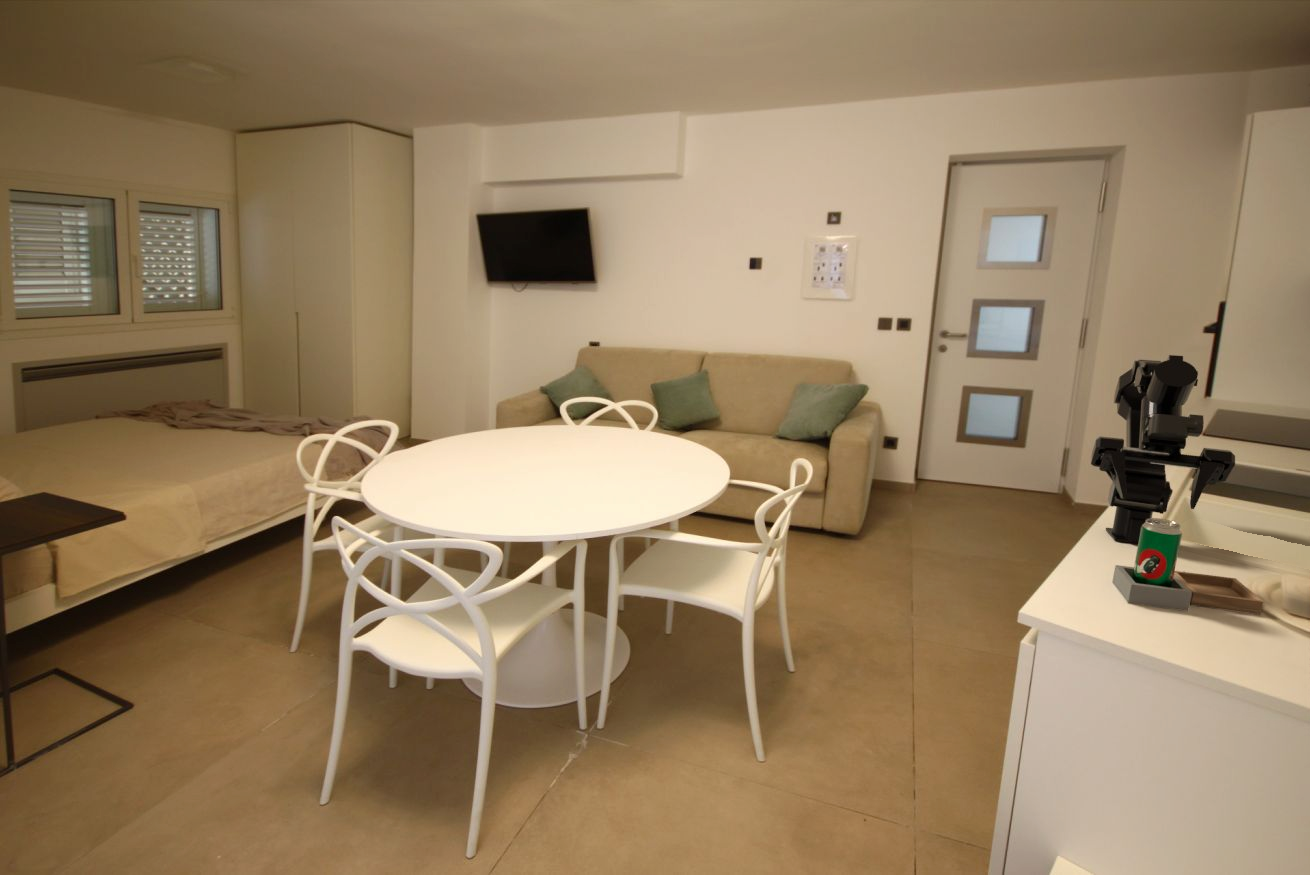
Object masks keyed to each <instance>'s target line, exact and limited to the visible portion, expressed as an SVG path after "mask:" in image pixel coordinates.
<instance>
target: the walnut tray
mask: <svg viewBox="0 0 1310 875" xmlns="http://www.w3.org/2000/svg"><path fill="white" fill-rule="evenodd" d="M1174 574H1175V576H1176V577H1177V578H1178V579H1179V580H1180V581H1181V582H1182V583H1183V584H1184V585H1185V586H1186V587H1187V588H1188V589H1189V590H1190V591H1191V592H1192V596H1191V601H1190V605H1191V606H1196V607H1201V608H1202V607H1203V608H1211V609H1217V610H1225V611H1230V612H1231V611H1232V612H1237V613H1240V612H1241V613H1247V614H1255V615H1261V614H1262V610H1263V606H1264V604H1265V602H1264V601H1263V600H1262V599H1261V598H1260V597H1258V596H1257V595H1256V594H1255V593H1254V592H1252V590H1251V589H1249V588H1248V587H1247V586H1245V584H1243V583H1242V581H1241V582H1240V581H1239V580H1238V579H1237V578H1235V577H1226V576H1219V575H1213V574H1211V575H1210V574H1204V573H1195V572H1188V571H1187V572H1185V571H1179V570H1175V572H1174ZM1190 605H1189V606H1190Z"/></svg>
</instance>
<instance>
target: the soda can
mask: <svg viewBox="0 0 1310 875" xmlns="http://www.w3.org/2000/svg"><path fill="white" fill-rule="evenodd" d="M1182 536H1183V531H1182V530H1181V525H1180V524H1179V523H1177V522H1175V521H1172V520H1168V519H1164V518H1157V517H1155V518H1154V517H1152V518H1148V519H1146V522H1145V523H1144V524H1143V525H1142V527H1141V532H1140V537H1139V543H1137V547H1136V548H1137V549H1136V554H1135V560H1134V565H1133V567H1134V569H1133V574H1132V579H1133V580H1134V582H1135V583H1139V584H1147V585H1154V586H1162V587H1170V588H1171V587H1172V582H1173V577H1174V572H1175V571H1176V566H1177V563H1178V562H1177V561H1178V556H1179V551H1180V546H1181V540H1182Z"/></svg>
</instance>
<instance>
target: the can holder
mask: <svg viewBox="0 0 1310 875" xmlns="http://www.w3.org/2000/svg"><path fill="white" fill-rule="evenodd" d="M1133 569H1134V566H1127V565H1118V564H1115V565H1114V572H1113V575H1112V576H1113V577H1112V581H1111V582H1112V584H1113V585H1114V587H1115V588H1116V590H1118V592H1119V593H1120V595H1121V597H1123V598H1124V599H1125V601H1126V602H1127V603H1128V604H1132V605H1133V604H1135V605H1142V606H1147V607H1156V608H1165V609H1170V610H1179V611H1184V612H1188V611H1189V610H1190V601H1191V596H1192V592H1191V591H1190V590H1189V589H1188V588H1187V587H1186V586H1185V585H1184V584H1183V583H1182V582H1181V581H1180V580H1179V579H1178V578H1177V577H1176V576H1175V574H1174V577H1173V582H1172V587H1171V588H1170V587H1162V586H1154V585H1147V584H1139V583H1135V582H1134V580H1133V579H1132V574H1133Z"/></svg>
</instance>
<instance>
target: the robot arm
mask: <svg viewBox="0 0 1310 875" xmlns="http://www.w3.org/2000/svg"><path fill="white" fill-rule="evenodd" d="M1198 376H1199V371H1198V370H1197V369H1196V367H1195V366H1193V364H1191V363H1190V362H1187V361H1185V360H1184V356H1183V355H1174V354H1173V355H1171V354H1169V355H1168V356H1167V359H1166V360H1164V361H1161V360H1153V359H1152V360H1150V359H1138V360H1134V362H1133V365H1132V367H1131V369H1129V370H1128V371H1126V372H1125V373H1123V374H1121V375H1120V376H1119V378H1118V381H1117V383H1116V387H1115V391H1114V397H1113V404H1116V412H1117V414H1118V415H1119V416H1120V417H1121V418H1122V419H1124V420H1125V421H1126V422H1125V423H1126V424H1125V425H1126V427H1125V428H1126V431H1125V432H1126V433H1125V436H1126V437H1125V438H1126V439H1124V438H1117V437H1110V436H1109V437H1108V436H1098V437H1097V438H1096V439H1095V441H1094V444H1093V448H1092V452H1091V456H1090V457H1091V458H1090V465H1092V466H1093V467H1097V468H1098V470H1099V471H1101V472H1105V473H1106V474H1107V476H1108V477H1109V479H1110V480H1111V481H1112V482H1111V485H1110V487H1109V491H1108V499H1107V501H1108V504H1109V506H1110V507H1116V508H1115V512H1114V518H1113V524H1112V527H1105V532H1106V533H1107V534H1109V535H1110V537H1111V538H1112V539H1113V540H1114V541H1116V542H1123V543H1133V544H1138V543H1139V537H1140V532H1141V527H1142V525H1143V524H1144V523H1145V522H1146V519H1148V518H1153V514H1154V513H1158V514H1163V515H1164V513H1166V512H1167V510H1168V505H1169V502H1170V500H1171V497H1172V495H1173V489H1172V488H1171V483H1170V481H1167V477H1166V476H1167V474H1166V466H1170V467H1171V466H1172V467H1178V468H1179V467H1180V468H1188V469H1194V478H1193V479H1192V483H1191V492H1190V499H1189V505H1190V509H1191V510H1195V508H1196V506H1197V504H1198V502H1199V499H1200V497H1201V496H1202V494H1203V491H1204V490H1205V488H1206V487H1207V486H1208V485H1209V486H1213V485H1216V484H1217V483H1222V482H1226V481H1227V479H1228V477H1229V476H1230V474H1231V473H1232V470H1233V469H1234V467H1235V466H1236V455H1235V454H1234V453H1233V452H1232V451H1231V450H1228V449H1218V448H1211V447H1210V448H1209V447H1203V449H1202V450H1201V452H1200V455H1192V454H1185V453H1182V450H1185V448H1186V446H1187V438H1188V437H1193V438H1194V437H1197V438H1199V437H1200V436H1201V435H1202V434H1203V432H1204V425H1205V424H1204V415H1201V414H1189V415H1188V416H1186V415H1183V406H1184V405H1185V404H1186V403H1187V401H1188V399H1189V397H1190V395H1191V394H1192V390H1193V389H1194V387H1198V382H1199V379H1198ZM1125 441H1126V442H1125Z"/></svg>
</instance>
